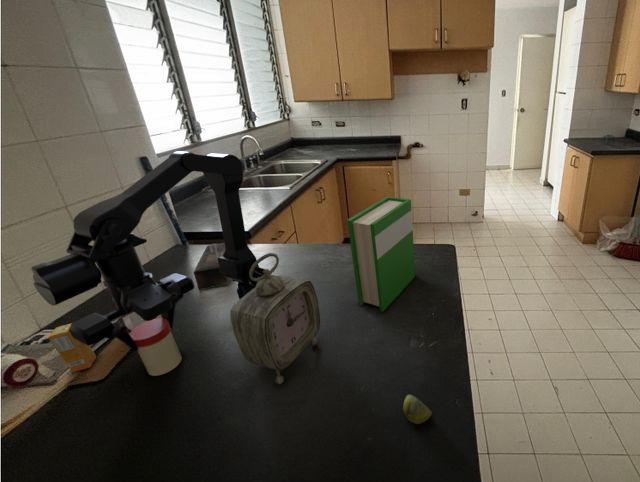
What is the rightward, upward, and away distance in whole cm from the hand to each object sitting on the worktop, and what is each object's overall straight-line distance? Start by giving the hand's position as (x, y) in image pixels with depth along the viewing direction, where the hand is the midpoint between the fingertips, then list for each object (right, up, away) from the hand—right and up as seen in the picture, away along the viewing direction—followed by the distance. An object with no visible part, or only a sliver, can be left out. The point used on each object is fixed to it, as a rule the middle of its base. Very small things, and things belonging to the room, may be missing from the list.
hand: (153, 338), depth 68 cm
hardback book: (+46, +5, +25) cm, 52 cm away
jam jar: (0, -6, +3) cm, 7 cm away
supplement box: (-18, -7, +4) cm, 19 cm away
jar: (-14, -2, +16) cm, 21 cm away
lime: (+54, -10, -11) cm, 56 cm away
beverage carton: (-9, +8, +37) cm, 39 cm away
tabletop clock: (+27, -6, +3) cm, 27 cm away
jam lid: (0, +2, -1) cm, 2 cm away
